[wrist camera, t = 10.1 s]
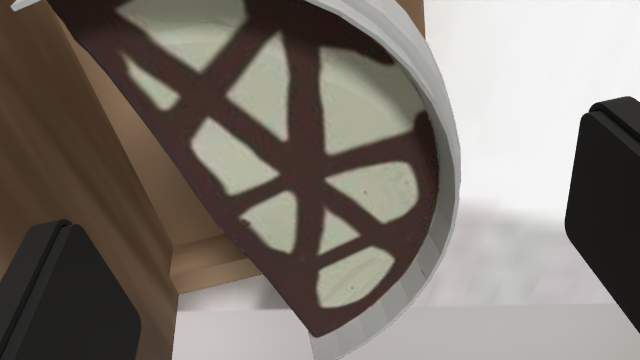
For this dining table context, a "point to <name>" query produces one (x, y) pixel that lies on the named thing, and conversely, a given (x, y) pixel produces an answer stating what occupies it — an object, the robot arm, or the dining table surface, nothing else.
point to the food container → (297, 140)
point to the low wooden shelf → (103, 174)
